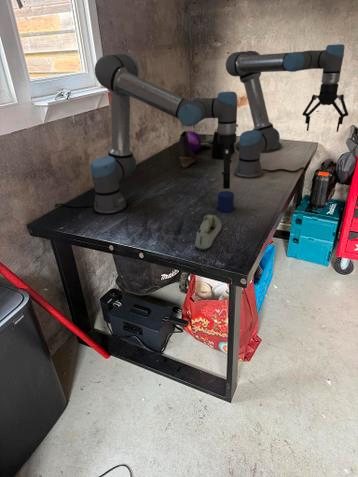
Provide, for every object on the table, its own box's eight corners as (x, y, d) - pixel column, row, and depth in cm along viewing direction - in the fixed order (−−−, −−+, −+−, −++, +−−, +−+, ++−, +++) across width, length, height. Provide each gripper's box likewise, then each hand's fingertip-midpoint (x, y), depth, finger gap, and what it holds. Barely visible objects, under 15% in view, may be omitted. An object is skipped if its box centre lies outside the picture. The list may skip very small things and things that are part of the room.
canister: (217, 205, 154) (217, 191, 151) (232, 205, 154) (233, 190, 150) (218, 212, 148) (218, 197, 144) (234, 212, 148) (234, 196, 144)
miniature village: (250, 138, 260) (251, 126, 256) (289, 145, 237) (291, 132, 233) (223, 147, 242) (223, 134, 237) (263, 155, 219) (264, 141, 215)
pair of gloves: (199, 151, 237) (198, 143, 234) (184, 143, 257) (184, 136, 255) (235, 144, 246) (235, 137, 244) (218, 138, 267) (218, 131, 264)
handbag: (222, 159, 215) (223, 120, 203) (210, 158, 220) (210, 119, 207) (235, 151, 230) (236, 114, 218) (223, 150, 234) (224, 113, 222)
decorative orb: (204, 151, 235) (204, 129, 228) (194, 156, 225) (193, 134, 217) (186, 149, 243) (186, 128, 235) (175, 154, 232) (174, 132, 224)
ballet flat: (225, 222, 139) (225, 205, 135) (213, 252, 119) (212, 233, 115) (205, 220, 141) (205, 203, 137) (190, 250, 121) (189, 231, 117)
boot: (197, 157, 223) (197, 126, 213) (191, 168, 203) (190, 135, 193) (185, 157, 225) (183, 126, 215) (178, 168, 205) (176, 135, 195)
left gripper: (236, 140, 123) (235, 193, 133) (236, 126, 144) (235, 173, 155) (216, 141, 124) (217, 193, 134) (218, 127, 145) (219, 173, 156)
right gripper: (300, 84, 152) (294, 131, 163) (360, 83, 144) (350, 133, 154) (301, 82, 158) (296, 128, 169) (359, 81, 149) (350, 129, 160)
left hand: (226, 182), depth 145 cm, fingers open, 13 cm apart
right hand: (322, 130), depth 162 cm, fingers open, 13 cm apart
